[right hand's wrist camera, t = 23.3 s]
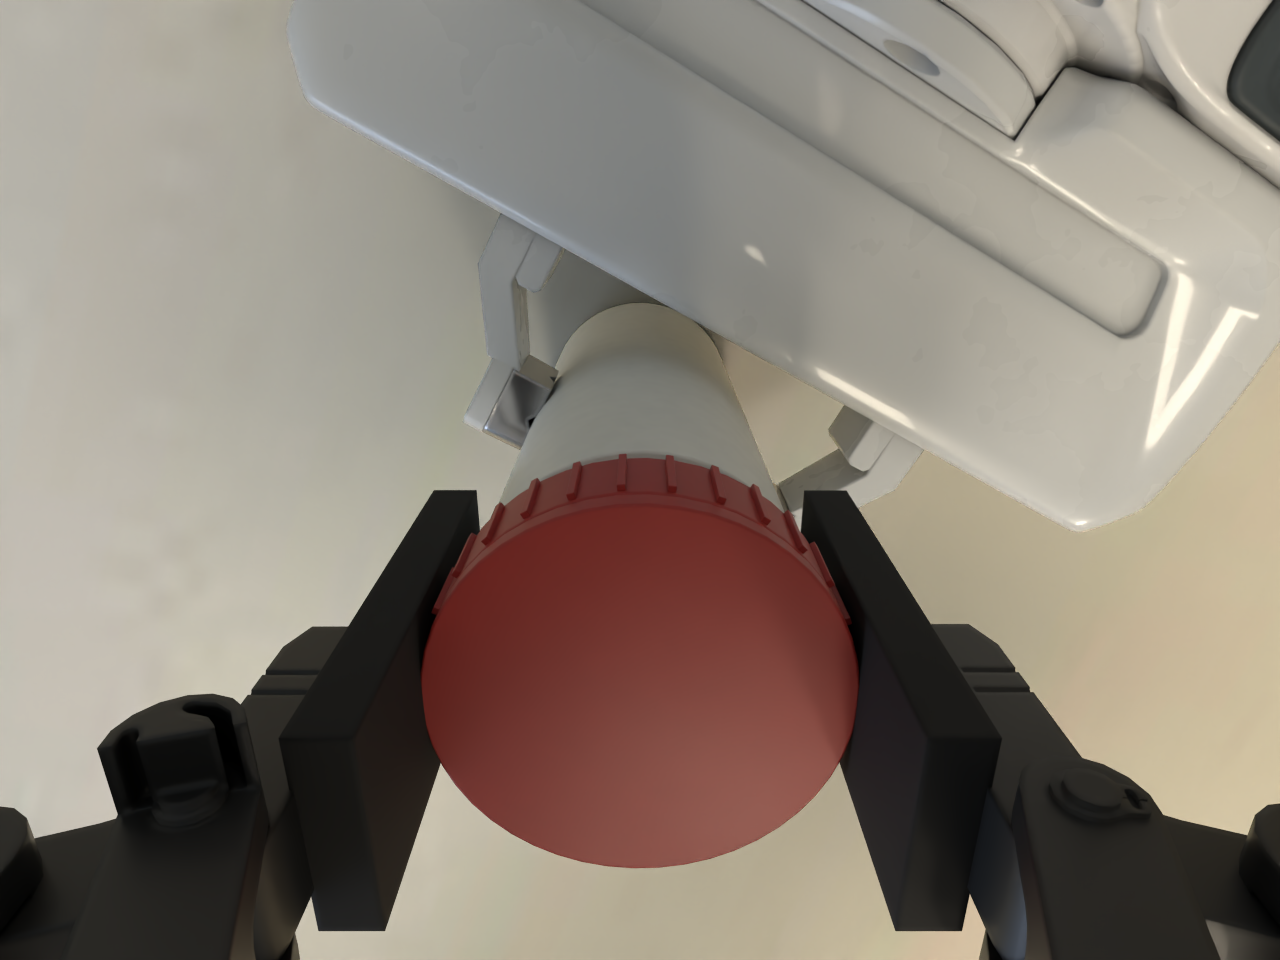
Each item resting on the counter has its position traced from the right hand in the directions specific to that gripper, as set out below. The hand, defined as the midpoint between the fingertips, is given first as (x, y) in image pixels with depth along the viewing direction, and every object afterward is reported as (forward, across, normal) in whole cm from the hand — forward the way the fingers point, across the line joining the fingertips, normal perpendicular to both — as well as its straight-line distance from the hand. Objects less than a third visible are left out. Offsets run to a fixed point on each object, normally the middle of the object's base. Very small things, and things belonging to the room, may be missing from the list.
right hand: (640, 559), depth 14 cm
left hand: (+5, 0, -1) cm, 5 cm away
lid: (-4, 0, 0) cm, 4 cm away
